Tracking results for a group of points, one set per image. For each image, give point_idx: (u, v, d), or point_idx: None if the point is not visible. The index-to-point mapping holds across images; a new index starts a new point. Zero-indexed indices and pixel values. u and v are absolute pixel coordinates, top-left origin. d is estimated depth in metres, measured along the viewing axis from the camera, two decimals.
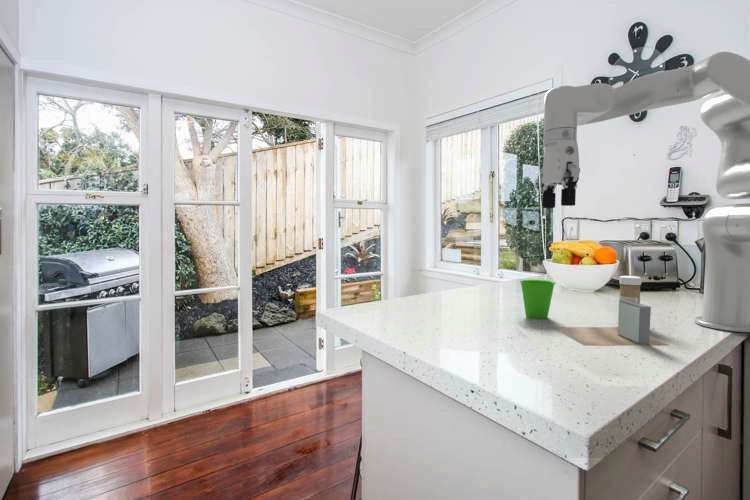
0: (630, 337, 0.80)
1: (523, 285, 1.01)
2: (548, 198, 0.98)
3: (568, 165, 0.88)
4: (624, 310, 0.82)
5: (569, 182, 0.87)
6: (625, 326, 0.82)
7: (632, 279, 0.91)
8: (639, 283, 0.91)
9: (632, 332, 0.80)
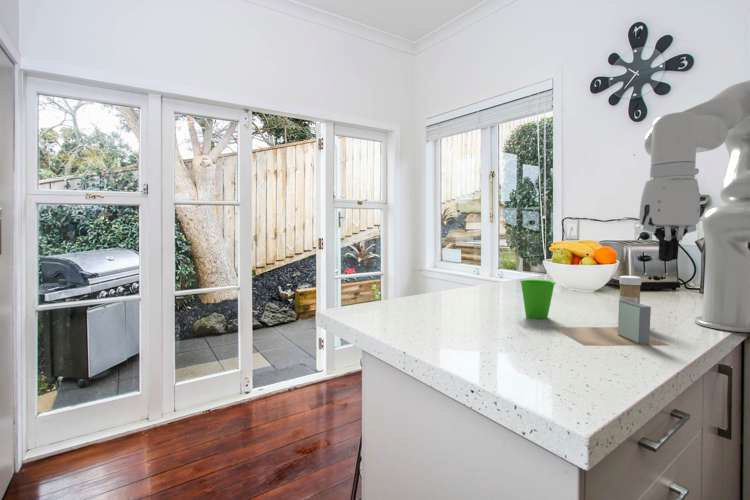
0: (630, 337, 0.80)
1: (523, 285, 1.01)
2: None
3: None
4: (624, 310, 0.82)
5: (682, 234, 0.79)
6: (625, 326, 0.82)
7: (632, 279, 0.91)
8: (639, 283, 0.91)
9: (632, 332, 0.80)
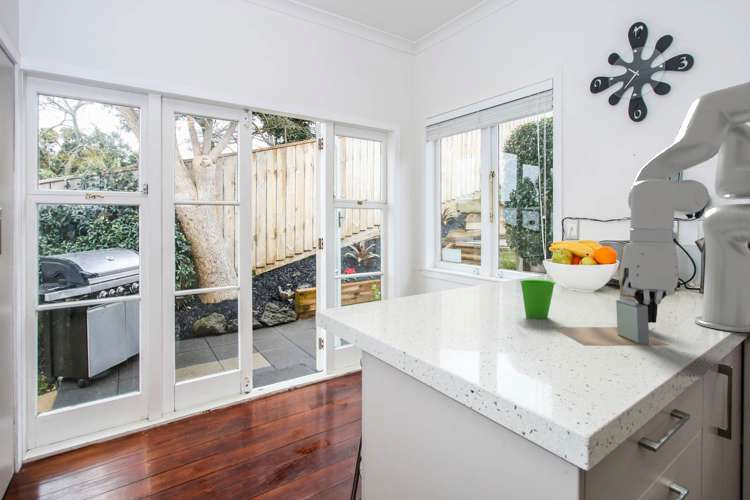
0: (630, 337, 0.80)
1: (523, 285, 1.01)
2: None
3: None
4: (622, 310, 0.82)
5: None
6: (624, 326, 0.82)
7: None
8: None
9: (631, 332, 0.80)
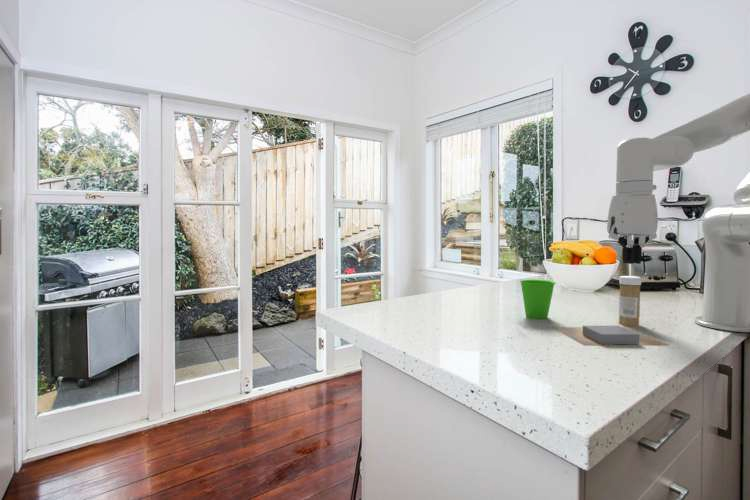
0: None
1: (523, 285, 1.01)
2: None
3: None
4: None
5: (645, 242, 0.92)
6: None
7: (632, 279, 0.91)
8: (639, 283, 0.91)
9: None
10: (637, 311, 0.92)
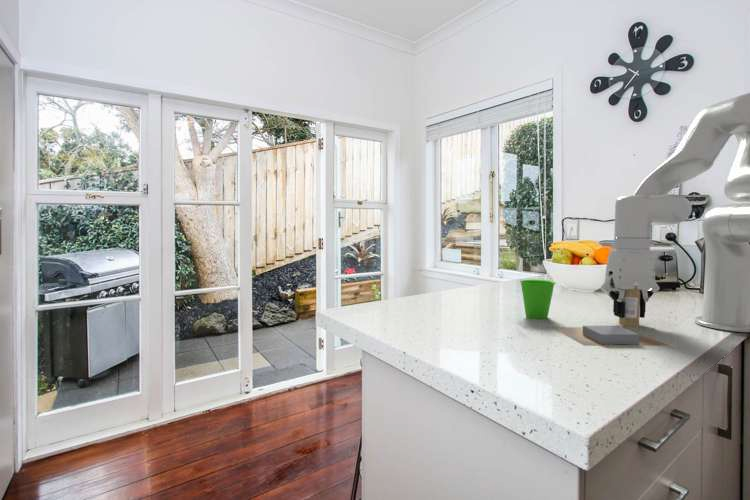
0: None
1: (523, 285, 1.01)
2: None
3: None
4: None
5: (649, 296, 0.93)
6: None
7: None
8: None
9: None
10: (637, 311, 0.92)
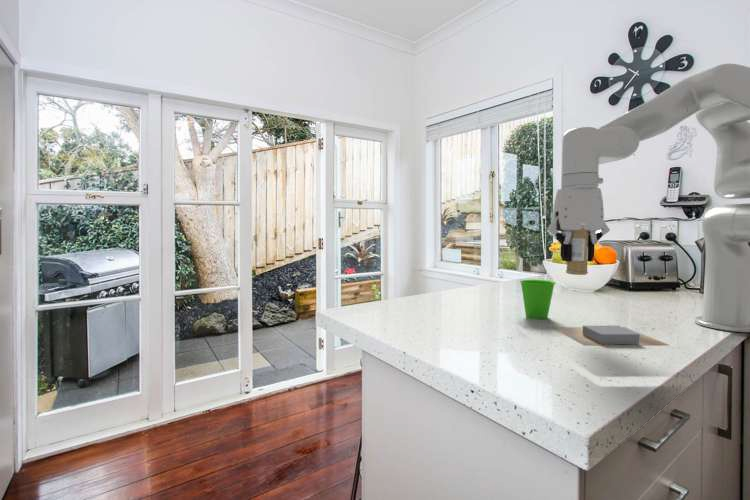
0: None
1: (523, 285, 1.01)
2: None
3: None
4: None
5: (598, 238, 0.86)
6: None
7: None
8: None
9: None
10: (584, 253, 0.85)
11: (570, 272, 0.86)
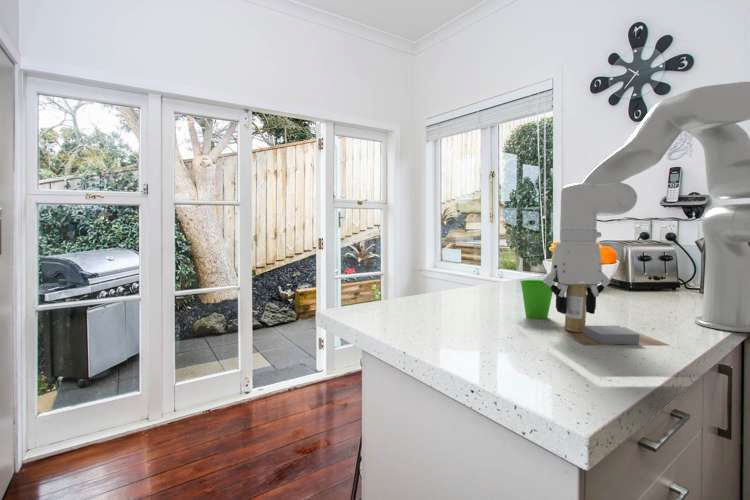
0: None
1: (523, 285, 1.01)
2: None
3: None
4: None
5: (599, 290, 0.87)
6: None
7: None
8: None
9: None
10: (583, 312, 0.86)
11: (568, 329, 0.87)
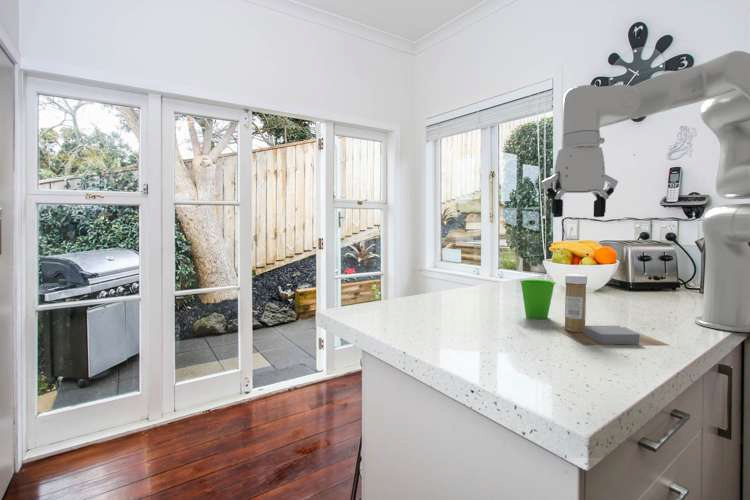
0: None
1: (523, 285, 1.01)
2: None
3: (605, 175, 0.85)
4: None
5: (609, 193, 0.85)
6: None
7: (577, 277, 0.85)
8: (584, 282, 0.85)
9: None
10: (582, 312, 0.86)
11: (568, 329, 0.87)
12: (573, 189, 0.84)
